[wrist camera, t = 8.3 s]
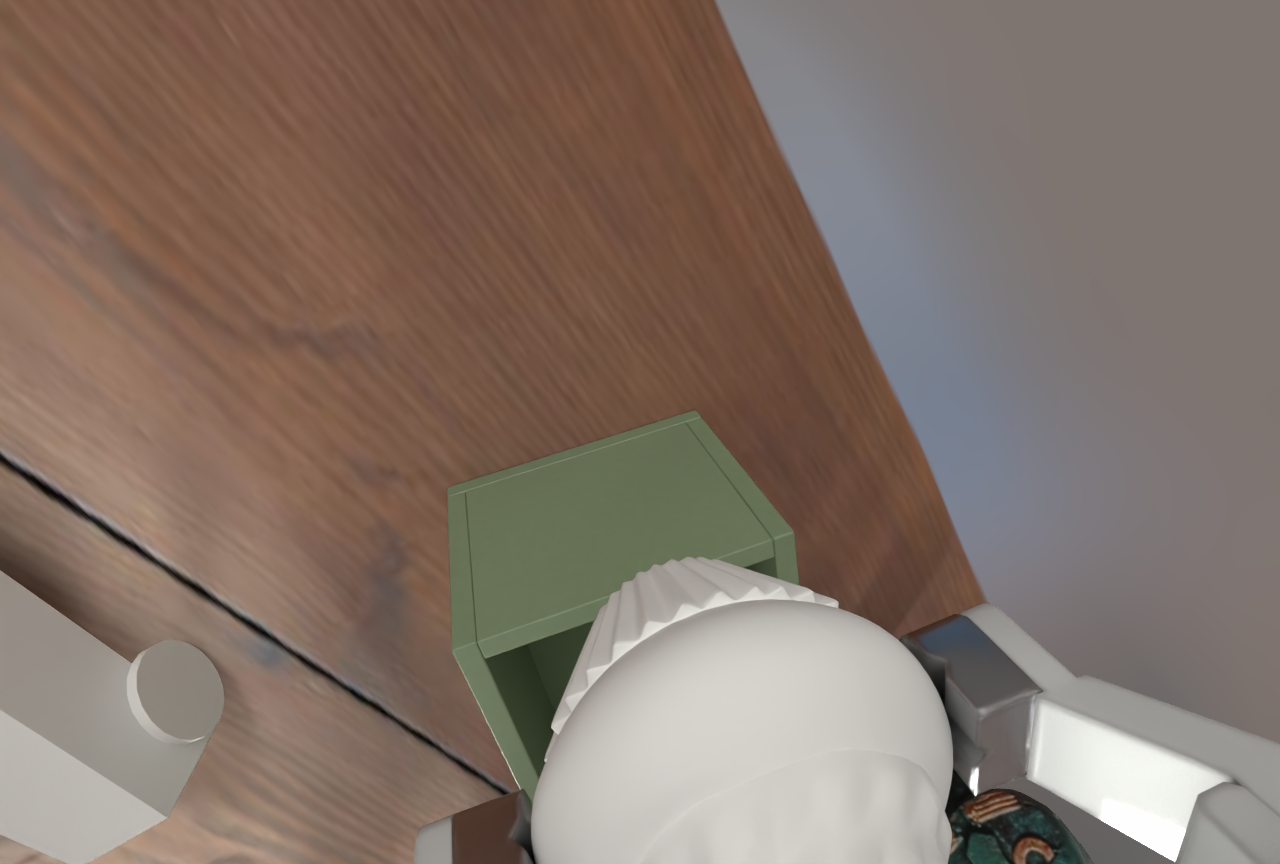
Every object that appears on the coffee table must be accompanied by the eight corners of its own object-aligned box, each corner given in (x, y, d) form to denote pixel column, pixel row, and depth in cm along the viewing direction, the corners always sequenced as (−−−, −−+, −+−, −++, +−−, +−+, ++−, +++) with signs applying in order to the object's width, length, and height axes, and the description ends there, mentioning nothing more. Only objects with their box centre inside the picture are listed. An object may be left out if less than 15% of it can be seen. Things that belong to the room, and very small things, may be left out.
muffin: (862, 491, 12) (1275, 863, 6) (773, 731, 15) (1009, 1170, 9) (530, 476, 10) (663, 1002, 4) (488, 757, 13) (536, 1350, 7)
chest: (446, 487, 29) (451, 651, 20) (695, 408, 30) (795, 531, 22) (546, 725, 37) (579, 912, 29) (738, 654, 39) (822, 811, 30)
